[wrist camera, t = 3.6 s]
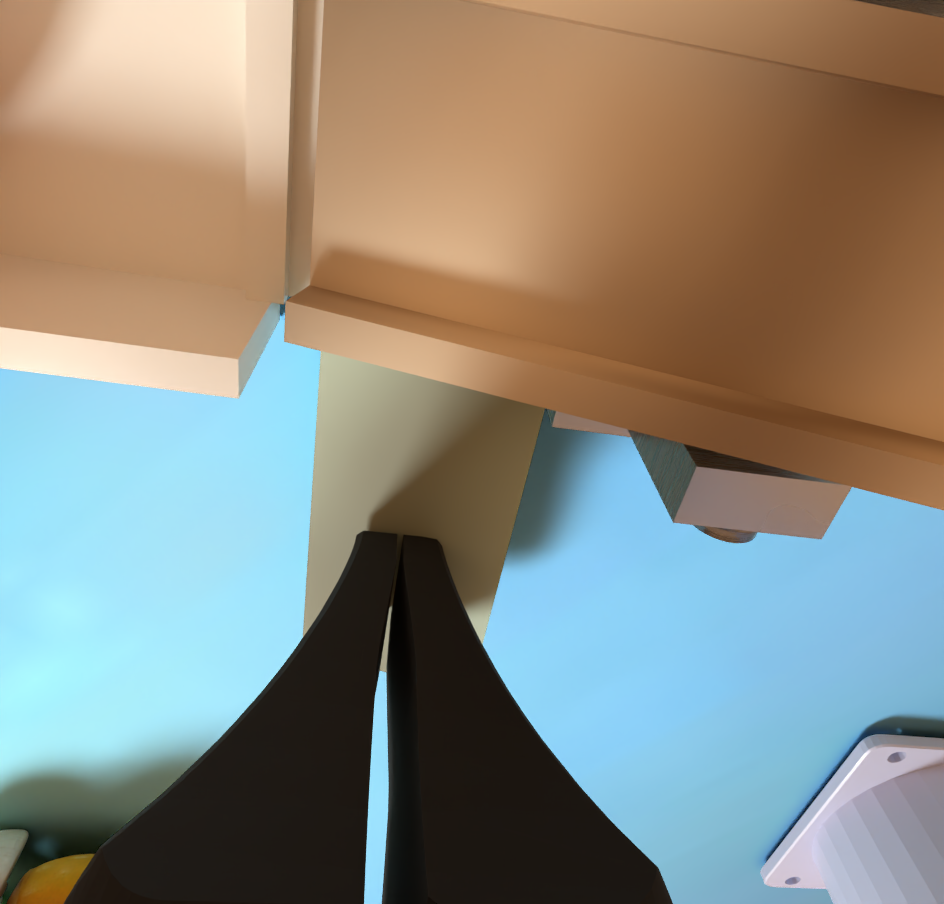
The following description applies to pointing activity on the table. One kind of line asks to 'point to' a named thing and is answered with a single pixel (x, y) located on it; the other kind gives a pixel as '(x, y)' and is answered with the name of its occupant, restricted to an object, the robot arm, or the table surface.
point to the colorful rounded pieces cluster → (38, 873)
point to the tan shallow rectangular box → (154, 185)
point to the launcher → (616, 253)
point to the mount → (737, 462)
